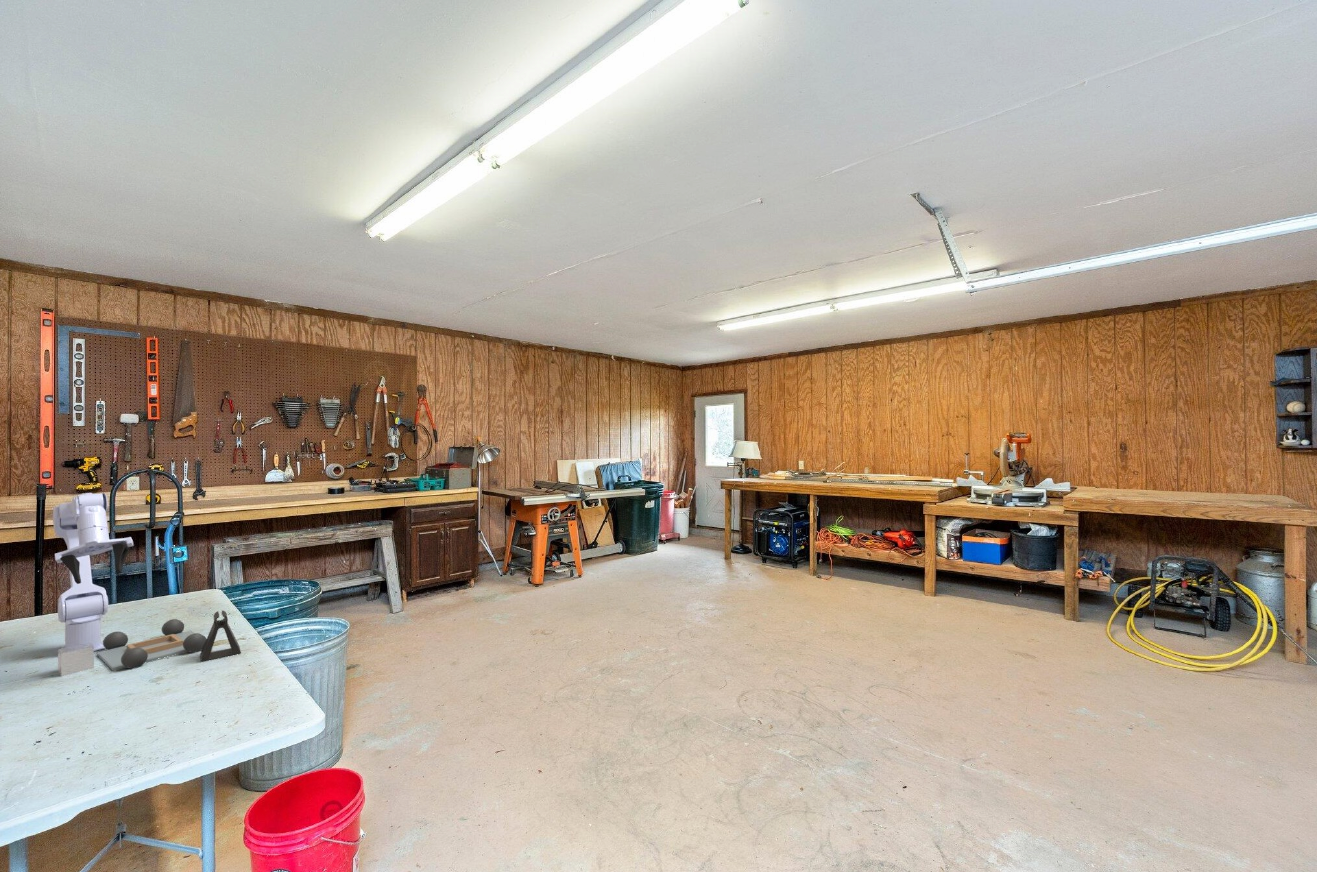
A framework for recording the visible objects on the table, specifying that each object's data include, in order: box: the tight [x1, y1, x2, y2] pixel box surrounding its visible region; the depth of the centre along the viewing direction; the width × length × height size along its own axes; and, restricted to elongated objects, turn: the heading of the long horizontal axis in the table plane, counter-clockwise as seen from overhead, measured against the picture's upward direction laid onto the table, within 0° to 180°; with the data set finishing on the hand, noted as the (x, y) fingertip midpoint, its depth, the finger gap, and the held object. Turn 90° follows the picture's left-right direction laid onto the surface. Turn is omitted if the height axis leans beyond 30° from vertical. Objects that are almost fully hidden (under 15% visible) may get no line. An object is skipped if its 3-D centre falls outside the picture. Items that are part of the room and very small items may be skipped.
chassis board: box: [96, 618, 207, 672], centre depth 160 cm, size 22×21×5 cm
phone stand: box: [199, 610, 242, 663], centre depth 157 cm, size 9×6×12 cm, turn 130°
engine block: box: [57, 643, 95, 677], centre depth 147 cm, size 4×6×6 cm
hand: (98, 577), depth 143 cm, fingers open, 7 cm apart
